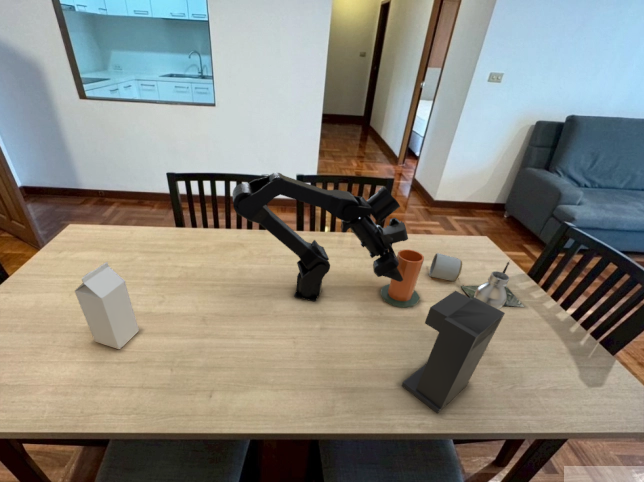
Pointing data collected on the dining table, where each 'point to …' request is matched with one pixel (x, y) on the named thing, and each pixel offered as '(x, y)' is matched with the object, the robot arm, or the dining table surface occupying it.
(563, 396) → the dining table surface
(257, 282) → the dining table surface
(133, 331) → the milk carton
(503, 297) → the silver metal bottle
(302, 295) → the robot arm
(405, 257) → the orange cup
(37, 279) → the dining table surface
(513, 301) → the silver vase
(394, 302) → the saucer
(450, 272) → the ceramic mug
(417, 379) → the coffee maker
